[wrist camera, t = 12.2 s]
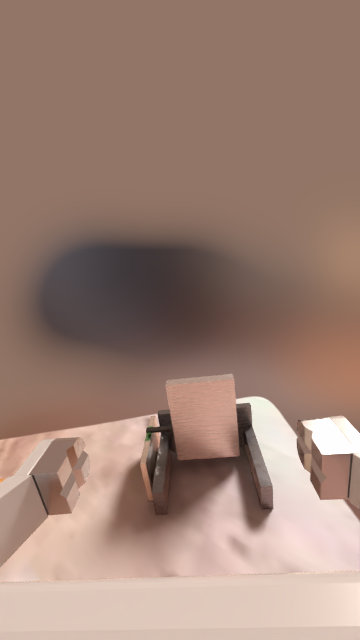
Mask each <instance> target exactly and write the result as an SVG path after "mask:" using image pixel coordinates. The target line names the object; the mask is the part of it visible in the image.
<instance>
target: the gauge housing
mask: <svg viewBox="0 0 360 640" xmlns="http://www.w3.org/2000/svg"><path fill="white" fill-rule="evenodd" d="M236 412H237V425H238V438H239V446H244V445H245V449H246V453H247V456H248V460H249V464H250V467H251V471H252V475H253V478H254V482H255V486H256V489H257V493H258V497H259V501H260V504H261V508H262V509H271V508H273V489H272V483H271V480H270V477H269V474H268V471H267V469H266V466H265V463H264V460H263V457H262V454H261V451H260V448H259V445H258V442H257V439H256V436H255V433H254V430H253V428H252V416H251V405H250V403H243V404H236ZM158 419H159V424H160V427H161V426H172V420H171V414H170V410H161V411H158ZM149 427H157V422H156V416H151V418H150V423H149ZM149 427H148V428H149ZM174 450H176V444H175V438H174V432H173V431H169V432H161V437H160V438H159V432H157V433H147V434H146V439H145V444H144V449H143V453H142V457H141V461H140V466H141V471H142V475H143V480H144V484H145V488H146V493H147V497H148V501H154V506H155V510H156V514H167V508H168V497H169V485H170V474H171V463H172V451H174Z"/></svg>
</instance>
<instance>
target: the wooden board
mask: <svg viewBox="0 0 360 640" xmlns="http://www.w3.org/2000/svg"><path fill="white" fill-rule="evenodd" d="M166 391H167V396H168V402H169V407H170V408H169V409H170V414H171V420H172V426H161V427H149V428H147V430H146V433H157V432H169V431H173V432H174V438H175V444H176V450H177V456H178V460H190V459H204V458H219V457H233V456H240V452H239V438H238V425H237V412H236V399H235V386H234V378H233V375H232V374H226V375H216V376H206V377H196V378H184V379H175V380H167V381H166Z"/></svg>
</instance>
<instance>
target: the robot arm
mask: <svg viewBox="0 0 360 640" xmlns="http://www.w3.org/2000/svg"><path fill="white" fill-rule="evenodd" d="M297 431H298V432H299V434H300V436H299V437H298V438H297V450H298V455H299V458H300V460H301V463H302V465H303V467H304V469H306V470H307V471H309V472H310V473H311V474H310V481H311V482H312V484H313V486H314V488H315V490H316V492H317V494H318V496H319V498H320V500H330V499H349V501H350V502H351V503H352V504H353V505H355V506H356V507H357V508H358V509H359V510H360V434H359V433H358V432H357V431H356V430H355V428H354V427H353V426H352V425H351V424H350V423H349V422H348V421H347V419H346V418H345V417H343V416H336V417H327V418H318V419H306V420H298V422H297ZM84 447H85V443H84V440H83V438H80V437H78V438H59V439H45V440H42V441H41V442H40V443H39V444H38V445H37V446H36V448H35V449H34V450H33V452H32V453H31V454H30V455H29V457H28V458H27V459H26V461H25V462H24V463H23V464H22V466H21V467H20V468H19V470H18V471H17V472H16V474H15V475H14V476H11V477H8V478H7V479H5V480H4V481H2V482H1V483H0V567H1V566H2V565H3V564H4V563H5V562H6V561H7V560H8V559H9V558H10V557H11V556H12V554H13V553H14V552H15V551H16V550H17V549H18V548H19V547H20V546H21V545H22V544H23V543H24V542H25V541H26V540H27V539H28V537H29V536H30V535H31V534H32V533H33V532H34V531H35V530H36V529H37V528H38V527H39V526H40V525H41V524H42V523H43V522H44V521H45V519H46V518H47V517H48V515H58V514H69V513H72V511H73V509H74V507H75V504H76V502H77V500H78V498H79V496H80V492H79V488H80V487H81V486H82V485H83V484H84V483H85V482H86V480H87V477H88V475H89V469H90V460H89V456H88V454H87V453H85V452H84V451H83V449H84ZM0 640H360V571H334V572H304V573H274V574H244V575H215V576H184V577H153V578H122V579H91V580H60V581H28V582H0Z"/></svg>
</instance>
